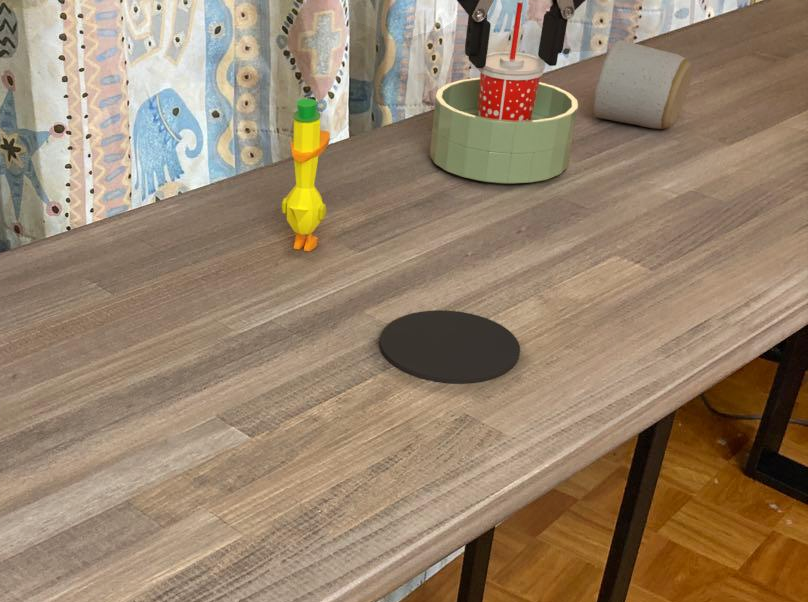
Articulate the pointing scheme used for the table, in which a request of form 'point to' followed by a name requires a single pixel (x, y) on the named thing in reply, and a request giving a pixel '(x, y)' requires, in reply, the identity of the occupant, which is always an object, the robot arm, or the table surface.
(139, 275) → the table surface
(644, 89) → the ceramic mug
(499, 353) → the coaster
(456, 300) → the table surface
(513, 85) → the beverage cup
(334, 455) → the table surface
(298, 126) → the toy figure
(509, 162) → the bowl
